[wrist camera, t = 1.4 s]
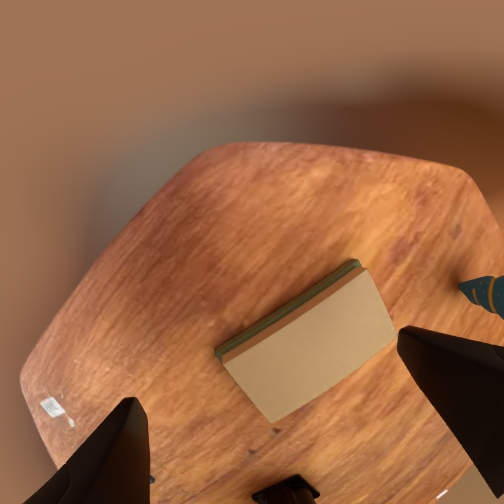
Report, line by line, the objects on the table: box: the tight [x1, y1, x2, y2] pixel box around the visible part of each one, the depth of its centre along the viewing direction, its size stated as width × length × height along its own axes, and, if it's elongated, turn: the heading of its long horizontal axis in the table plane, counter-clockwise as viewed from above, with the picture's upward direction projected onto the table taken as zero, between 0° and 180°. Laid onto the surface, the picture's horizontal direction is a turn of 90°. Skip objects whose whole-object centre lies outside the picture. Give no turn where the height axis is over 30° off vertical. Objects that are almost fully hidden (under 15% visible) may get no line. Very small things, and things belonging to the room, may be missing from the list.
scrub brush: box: [215, 259, 398, 424], centre depth 23 cm, size 8×14×3 cm, turn 122°
